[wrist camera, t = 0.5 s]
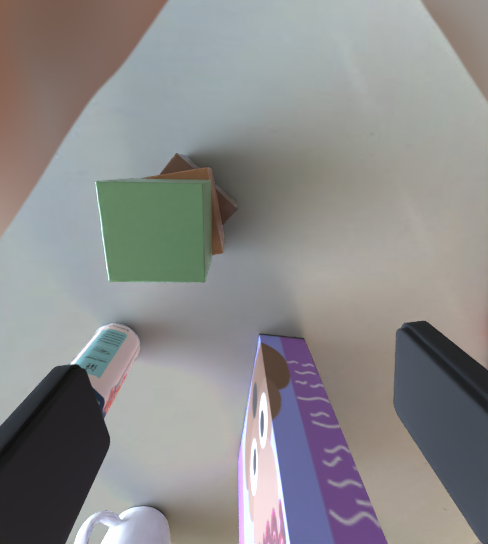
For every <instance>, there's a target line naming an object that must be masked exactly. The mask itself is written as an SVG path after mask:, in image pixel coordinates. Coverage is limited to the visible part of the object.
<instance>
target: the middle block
mask: <svg viewBox="0 0 488 544" xmlns="http://www.w3.org/2000/svg"><path fill="white" fill-rule="evenodd" d="M140 179H196V180H211V211H212V255H216V254H222V253H223V250H224V243H225V237H224V231H223V226H222V220H221V215H220V209H219V204H218V198H217V193H216V188H215V182H214V177H213V171H212V168H208V167H205V168H199V169H193V170H187V171H181V172H175V173H169V174H163V175H157V176H152V177H146V178H140Z"/></svg>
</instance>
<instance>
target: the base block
mask: <svg viewBox="0 0 488 544" xmlns="http://www.w3.org/2000/svg"><path fill="white" fill-rule="evenodd" d="M193 169H199V167H198V166H196V165H195V164H194V163H193V162H192V161H191V160H190V159H189V158H188V157H187V156H185V155H181V154H178V153H176V154H175V155H174V157H173V158H172V159H171V161H170V162H169V163H168V164H167V166H166V167H165V168H164V170H163V171H162V172H161V173H160V175H163V174H169V173H175V172H181V171H187V170H193ZM215 188H216V193H217V198H218V204H219V209H220V215H221V220H222V226H223V224H224V223H225V222H226V221H227V220H228V219H229V218H230V217H231V215H232V214H233V213H234V212H235V211H236V210H237V202H236V201H235V200H234V199H233V198H232V197H231V196H229V195H228V194H227V193H226V192H225V191H224V190H223V189H222V188H221V187H220V186H218V185H217V184H216V183H215Z"/></svg>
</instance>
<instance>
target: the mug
mask: <svg viewBox="0 0 488 544" xmlns="http://www.w3.org/2000/svg"><path fill="white" fill-rule="evenodd" d="M97 523H103V524H105V525H107V526H109V527H110V529H109V531H108V533H107V534H106V536H105V538H104V540H103V542H102V544H170V530H169V526H168V522H167V519H166V518H165V516H164V515H163V514H162V513H161V512H160V511H158V510H156V509H155V508H152V507H147V506H139V507H133V508H130V509H128V510H126V511H124V512H123V513H122V514H121V515H120V516H118V515H117V514H115V513H114V512H111V511H107V510H106V511H101V512H97V513H95V514H94V515H92V516H91V517H89V519H88V520H87V521H86V522H85V523H84V524H83V526H82V527H81V529H80V530H79V532H78V534H77V537H76V540H75V543H74V544H88V542H89V536H90V533H91V531H92V530H93V528H94V526H95V525H96V524H97Z"/></svg>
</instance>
